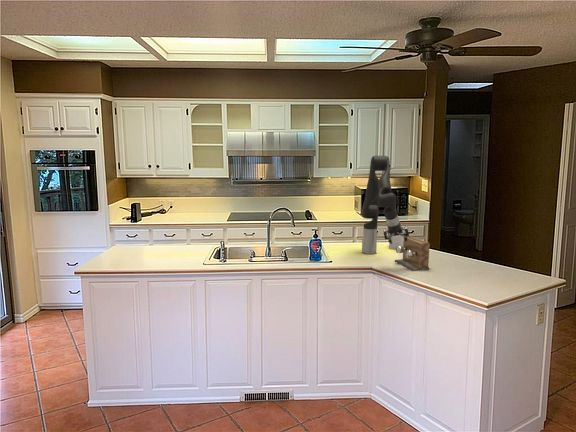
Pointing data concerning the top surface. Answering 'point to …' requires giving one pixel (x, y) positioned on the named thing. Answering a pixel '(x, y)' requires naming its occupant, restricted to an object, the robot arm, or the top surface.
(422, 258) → the knob panel
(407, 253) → the knob
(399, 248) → the knob
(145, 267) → the top surface
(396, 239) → the supplement box
